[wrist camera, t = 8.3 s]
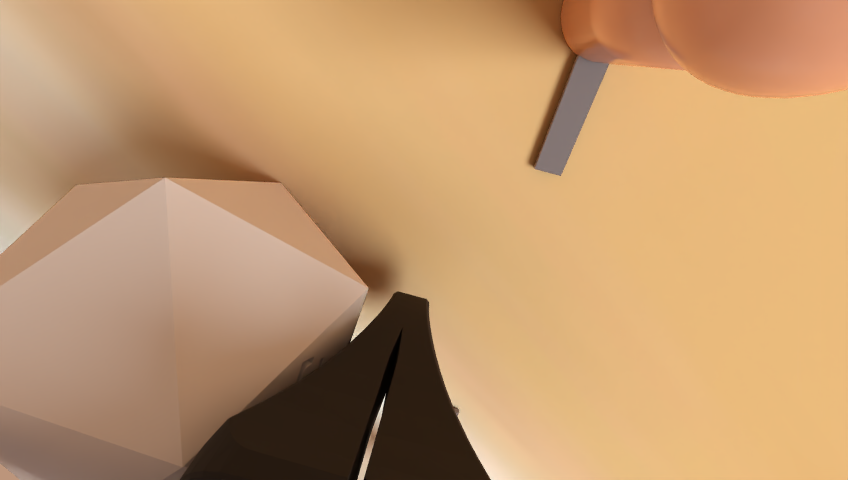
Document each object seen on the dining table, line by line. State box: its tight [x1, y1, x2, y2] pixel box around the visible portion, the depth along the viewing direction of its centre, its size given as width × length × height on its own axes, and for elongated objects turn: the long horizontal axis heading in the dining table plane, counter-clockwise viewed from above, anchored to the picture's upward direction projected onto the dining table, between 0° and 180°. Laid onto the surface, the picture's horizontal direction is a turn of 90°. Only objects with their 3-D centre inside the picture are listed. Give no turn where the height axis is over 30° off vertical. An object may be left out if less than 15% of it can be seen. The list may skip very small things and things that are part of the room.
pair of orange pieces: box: [454, 0, 848, 415], centre depth 10 cm, size 23×3×8 cm, turn 167°
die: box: [0, 177, 369, 480], centre depth 10 cm, size 8×9×10 cm
